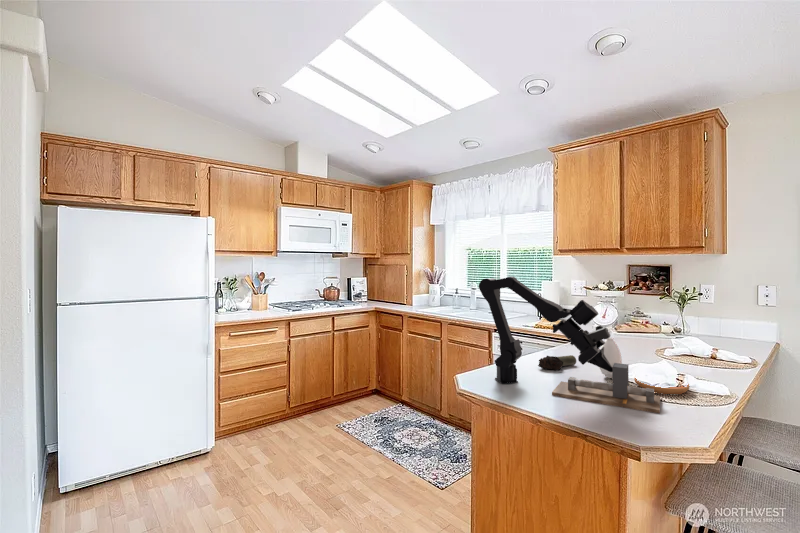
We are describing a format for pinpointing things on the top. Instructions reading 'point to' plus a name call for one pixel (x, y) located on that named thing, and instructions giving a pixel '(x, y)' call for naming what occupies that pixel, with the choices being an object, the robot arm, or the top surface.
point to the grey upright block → (620, 380)
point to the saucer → (664, 390)
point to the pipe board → (608, 394)
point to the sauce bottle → (611, 355)
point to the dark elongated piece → (556, 362)
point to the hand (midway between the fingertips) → (612, 371)
